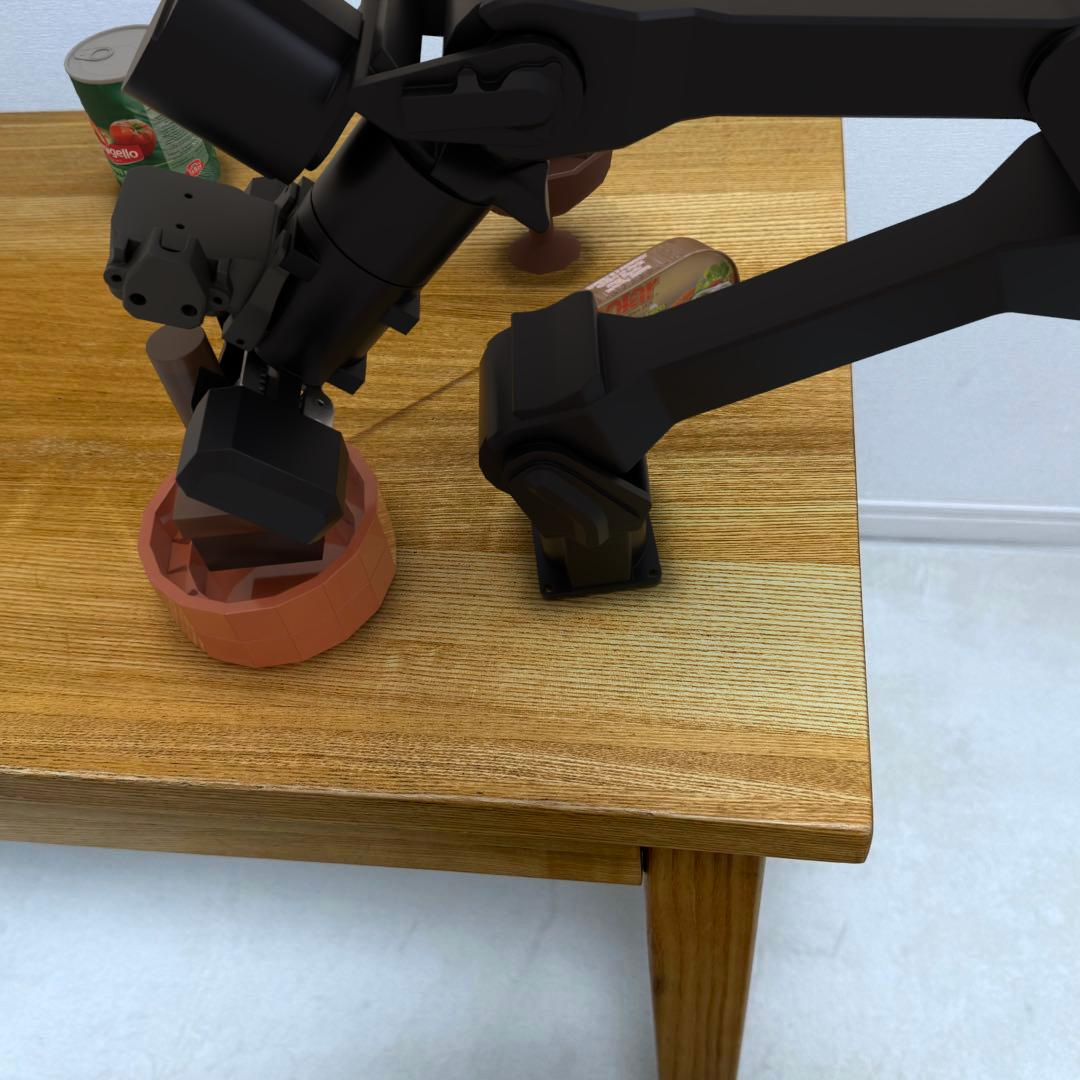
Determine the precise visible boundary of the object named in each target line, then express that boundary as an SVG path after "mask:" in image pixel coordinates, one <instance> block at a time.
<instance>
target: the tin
mask: <svg viewBox="0 0 1080 1080" xmlns="http://www.w3.org/2000/svg"><path fill="white" fill-rule="evenodd" d="M739 282H741V278H740V272H739V269H738V267H737V265H736V263H735V261H734V260H733V259H732V257H730V256H729V255H728V254H727V253H725V252H723V251H721V250H720V249H719V250H718V249H715V248H713V247H712V246H709V245H708V244H706V243H704V242H702V241H700V240H698V239H696V238H692V237H686V236H677V237H671V238H669V239H665V240H662V241H661V242H658V243H657V244H655V245H654V246H651V247H650V248H649V249H647V250H645V251H643V252H641V253H639V254H637V255H636V256H634V257H632V258H631V259H629V260H627V261H625V262H624V263H622V264H619V265H618V266H617V267H615V268H613V269H611V270H610V271H608V272H607V273H605V274H603V275H601V276H599V277H598V278H596V279H594V280H592V281H590V282H589V283H586V285H584V286H581V287H580V288H578V289H576V290H575V291H573V292H571V293H570V294H572V293H574V292H578V291H584V290H590V291H592V292H593V294H594V297H595V301H596V304H597V308H598V311H599V312H604V313H611V314H618V315H625V316H632V317H644V316H649V315H652V314H655V313H658V312H661V311H663V310H666V309H669V308H671V307H674V306H677V305H680V304H682V303H685V302H688V301H690V300H693V299H696V298H698V297H701V296H704V295H706V294H709V293H712V292H714V291H717V290H720V289H722V288H725V287H728V286H730V285H733V284H736V283H739ZM570 294H568V295H570ZM565 297H566V296H564V297H563V298H565Z"/></svg>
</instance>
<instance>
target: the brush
mask: <svg viewBox="0 0 1080 1080" xmlns="http://www.w3.org/2000/svg"><path fill="white" fill-rule="evenodd" d="M145 354H146V355H147V357H148V359H149V361H150V363H151V365H152V367H153V369H154V370H155V372H156V374H157V376H158V378H159V380H160V382H161V384H162V386H163V388H164V390H165V392H166V394H167V396H168V397H169V399H170V401H171V404H172V405H173V407H174V409H175V411H176V413H177V415H178V417H179V418H180V420H181V422H182V424H183V426H184V429H185V430H186V429H187V427H188V424H189V422H190V420H191V418H192V413H191V409H190V404H191V399H192V394H193V390H194V385H195V381H196V376H197V372H198V367H199V365H200V366H203V367H205V368H207V369H209V370H211V371H213V372H215V373H217V374H219V375H222V376H224V377H225V375H224V373H223V370H222V368H221V366H220V364H219V362H218V358H217V355H216V353H215V351H214V348H213V346H212V344H211V342H210V340H209V338H208V335H207V333H206V331H205V329H204V328H203V326H202V325H200V326H198V327H196V328H194V329H183V328H178V327H174V326H169V325H164V324H163V325H162V326H161V327H159V328H157V329H156V330H155V331H154V332H152V333H151V334H150V335H149V337H148V338H147V339H146V343H145ZM173 521H174V523H175V525H176V526H177V528H178V530H179V532H180V533H181V535H182V537H183V538H184V539H191V541H192V543H193V544H194V546H195V548H196V549H197V551H198V553H199V555H200V556H201V558H202V560H203V561H204V563H205V565H206V567H207V568H208V570H209V571H210V572H213V571H223V570H232V569H242V568H251V567H261V566H270V565H280V564H289V563H299V562H309V561H318V560H322V559H323V551H324V541H325V535H324V536H323V537H322V538H321V539H320V540H317V541H315V542H313V543H311V544H308V545H306V544H303V543H301V542H298V541H296V540H293V539H291V538H288V537H286V536H283V535H281V534H278V533H276V532H273V531H271V530H269V529H266V528H264V527H261V526H259V525H256V524H254V523H251V522H249V521H246V520H244V519H241V518H239V517H236V516H234V515H231V514H229V513H227V512H224V511H222V510H219V509H217V508H214V507H212V506H209V505H207V504H204V503H202V502H199V501H197V500H194V499H192V498H190V497H187V496H186V495H185V493H184V492H183V490H182V489H181V487H179V492H178V496H177V501H176V506H175V510H174V515H173Z"/></svg>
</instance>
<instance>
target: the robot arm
mask: <svg viewBox="0 0 1080 1080" xmlns="http://www.w3.org/2000/svg"><path fill="white" fill-rule="evenodd" d="M148 25H149V26H148V28H147V30H146V33H145V35H144V37H143V39H142V41H141V43H140V45H139V47H138V50H137V52H136V54H135V56H134V58H133V60H132V63H131V65H130V67H129V70H128V72H127V74H126V76H125V79H124V81H123V84H122V87H121V91H122V92H124V93H126V94H127V95H129V96H131V97H132V98H134V99H136V100H137V101H139V102H141V103H142V104H144V105H146V106H147V107H149V108H151V109H152V110H154V111H156V112H157V113H159V114H161V115H162V116H164V117H166V118H167V119H169V120H171V121H172V122H174V123H176V124H177V125H179V126H181V127H182V128H184V129H186V130H187V131H189V132H191V133H192V134H194V135H196V136H197V137H199V138H201V139H202V140H204V141H206V142H207V143H209V144H211V145H212V146H213V147H214V148H216V149H217V150H219V151H221V152H222V153H224V154H226V156H229V157H230V158H233V160H235V161H237V162H239V163H241V164H242V165H243V166H246V167H247V168H249V169H251V170H252V171H254V172H256V173H257V174H259V175H260V176H257V177H252V179H251V180H250V181H249V183H248V185H247V186H246V188H245V189H244V190H242V189H241V188H238V187H237V186H234V185H231V184H227V183H224V182H223V183H222V182H219V181H217V182H215V181H211V180H207V179H203V178H199V177H195V176H191V175H187V174H183V173H179V172H175V171H172V170H168V169H164V168H160V167H155V166H137V167H134V168H132V169H130V170H129V171H128V172H127V174H126V176H125V179H124V182H123V184H122V187H120V191H119V194H118V196H117V200H116V202H115V204H114V205H115V206H114V209H113V211H112V213H111V214H112V215H111V218H110V229H109V231H110V232H109V238H110V239H109V254H108V258H107V263H106V265H105V268H104V271H103V275H102V279H103V280H104V283H105V284H106V285H107V286H108V290H109V291H110V293H111V294H112V295H113V296H114V297H115V298H116V299H118V300H120V301H121V303H122V304H121V305H122V307H123V310H124V311H126V312H127V313H128V314H129V315H130V316H131V317H133V318H135V319H137V320H141V321H146V322H151V323H155V324H160V325H163V326H164V325H169V326H174V327H178V328H183V329H194V328H196V327H198V326H202V325H203V324H204V321H205V318H206V317H211V318H216V320H217V322H218V326H219V328H220V330H221V334H220V335H221V337H220V339H221V340H223V344H222V346H221V350H220V353H219V356H218V358H217V359H218V362H219V364H220V366H221V368H222V370H223V373H224V375H225V377H224V376H222V375H219V374H217V373H215V372H213V371H211V370H209V369H207V368H205V367H203V366H200V365H199V367H198V372H197V376H196V381H195V385H194V390H193V394H192V399H191V404H190V409H191V413H192V418H191V420H190V422H189V424H188V427H187V429H186V428H185V432H184V437H183V442H182V445H181V450H180V455H179V459H178V464H177V468H176V469H177V473H176V477H175V480H176V482H177V483H178V485H179V486H180V487H181V489H182V490H183V492H184V493H185V495H186V496H187V497H190V498H192V499H194V500H197V501H199V502H202V503H204V504H207V505H209V506H212V507H214V508H217V509H219V510H222V511H224V512H227V513H229V514H231V515H234V516H236V517H239V518H241V519H244V520H246V521H249V522H251V523H254V524H256V525H259V526H261V527H264V528H266V529H269V530H271V531H273V532H276V533H278V534H281V535H283V536H286V537H288V538H291V539H293V540H296V541H298V542H301V543H303V544H306V545H308V544H311V543H313V542H315V541H317V540H320V539H321V538H322V537H323V536H324V535H325V534H326V533H327V532H328V531H329V530H330V529H331V528H332V527H333V526H334V525H335V524H336V523H337V522H338V521H339V520H340V519H341V518H342V517H343V516H344V508H345V496H346V484H347V472H348V460H349V452H348V450H347V447H346V444H345V442H346V441H345V439H344V436H343V433H342V432H341V431H339V430H337V429H335V428H334V422H335V412H336V408H335V404H334V402H333V400H332V399H331V397H329V396H328V395H327V394H326V393H325V392H324V390H323V386H324V385H325V383H326V384H329V385H331V386H333V387H335V388H336V389H338V390H341V391H343V392H344V393H347V394H349V395H351V396H354V395H355V393H357V392H358V390H359V389H360V388H362V386H363V384H364V383H365V382H366V375H367V364H368V363H367V362H368V353H369V351H370V350H371V349H372V348H373V347H374V345H376V343H377V342H378V341H379V340H380V339H381V337H382V336H383V335H384V334H385V333H386V332H387V331H388V330H389V328H391V329H393V330H395V331H396V332H398V333H400V334H401V335H403V336H407V335H408V334H409V333H410V332H411V331H412V329H413V328H414V327H415V326H416V325H417V324H418V323H419V322H420V320H421V319H420V318H421V291H422V290H423V289H424V288H425V287H426V286H427V284H428V283H429V282H430V281H431V280H432V279H433V278H434V276H435V275H436V274H437V273H438V272H439V271H440V269H442V267H443V266H444V265H445V264H446V263H447V261H448V260H449V259H450V258H451V257H452V256H453V255H454V253H455V252H456V251H457V250H458V249H459V248H460V246H462V244H463V243H465V241H466V239H468V237H469V236H470V235H471V234H472V233H473V232H474V230H475V229H476V228H478V226H479V225H480V224H481V222H483V220H484V219H485V218H486V216H487V215H489V213H490V212H492V211H491V209H492V208H493V207H494V206H495V207H497V208H498V209H500V210H502V211H503V212H505V213H506V214H508V215H509V216H511V217H510V218H512V219H513V220H515V221H517V222H518V223H520V224H521V225H523V226H524V227H526V228H527V229H528V230H529V229H530V230H532V231H533V232H535V233H539V234H541V233H544V232H546V231H547V230H548V229H549V228H550V211H549V198H548V184H547V174H548V170H549V160H551V159H558V158H565V157H571V156H578V155H585V154H591V153H598V152H605V151H611V150H613V151H617V150H618V151H619V150H622V149H623V150H624V149H625V148H628V147H630V146H632V145H634V144H636V143H638V142H640V141H642V140H644V139H646V138H649V137H650V136H652V135H655V134H657V133H659V132H661V131H662V130H665V129H666V128H669V127H670V126H673V125H675V124H678V123H681V122H687V121H694V120H700V119H707V118H714V117H715V118H716V117H725V118H726V117H729V118H730V117H733V118H734V117H735V118H736V117H737V118H740V117H741V118H830V119H831V118H832V119H833V118H834V119H837V118H838V119H839V118H840V119H841V118H843V119H844V118H845V119H933V120H934V119H937V120H938V119H939V120H942V119H946V120H949V119H950V120H951V119H952V120H960V119H961V120H1022V121H1027V122H1031V123H1033V124H1036V125H1037V127H1038V129H1039V131H1038V132H1036V133H1034V134H1032V135H1030V136H1028V137H1027V138H1026V139H1025V140H1024V141H1022V142H1021V143H1020V145H1018V146H1017V147H1016V149H1015V150H1014V151H1012V153H1011V154H1010V155H1008V157H1006V159H1005V160H1004V161H1003V162H1002V163H1001V164H1000V165H999V166H997V168H996V169H995V170H994V171H993V172H992V173H991V174H990V175H989V176H988V177H987V178H986V179H985V180H984V181H983V182H982V183H981V184H980V185H979V186H978V187H977V188H976V189H975V190H974V191H973V192H971V193H970V194H968V195H967V196H964V197H963V198H960V199H958V200H956V201H954V202H950V203H948V204H946V205H942V206H940V207H938V208H935V209H932V210H929V211H927V212H924V213H921V214H919V215H916V216H913V217H910V218H908V219H905V220H902V221H900V222H896V223H894V224H892V225H889V226H887V227H884V228H881V229H878V230H875V231H873V232H870V233H868V234H865V235H862V236H860V237H856V238H854V239H851V240H849V241H845V242H843V243H840V244H838V245H835V246H833V247H830V248H827V249H824V250H822V251H819V252H817V253H814V254H811V255H809V256H806V257H803V258H801V259H798V260H795V261H792V262H790V263H787V264H784V265H782V266H779V267H777V268H774V269H771V270H769V271H766V272H763V273H761V274H757V275H755V276H752V277H749V278H747V279H744V280H742V281H741V280H740V282H739V283H736V284H733V285H730V286H728V287H725V288H722V289H720V290H717V291H714V292H712V293H709V294H706V295H704V296H701V297H698V298H696V299H693V300H690V301H688V302H685V303H682V304H680V305H677V306H674V307H671V308H669V309H666V310H663V311H661V312H658V313H655V314H652V315H649V316H644V317H632V316H625V315H618V314H611V313H604V312H599V311H598V308H597V304H596V301H595V297H594V294H593V292H592V291H590V290H584V291H578V292H575V291H573V292H574V293H573V292H571V293H572V294H571V293H570V295H569V294H568V295H566V296H564V297H565V298H564V297H562V298H561V299H559V300H558V301H555V302H554V303H552V304H550V305H548V306H546V307H542V308H539V309H535V310H530V311H515V312H512V313H511V314H510V326H508V327H506V328H505V329H503V330H501V331H498V332H497V333H495V335H493V336H492V337H491V338H490V339H489V340H488V341H487V343H486V348H485V349H484V351H483V352H482V356H481V358H480V361H479V363H478V467H479V469H480V471H481V473H482V475H483V477H484V479H485V480H486V481H488V482H489V483H490V484H491V485H492V487H494V488H495V489H497V490H498V491H501V492H503V493H505V494H507V495H509V496H510V497H511V498H512V499H513V502H515V504H517V506H518V507H519V508H520V509H521V511H522V512H523V513H524V515H525V516H526V518H528V520H529V522H530V524H531V525H530V526H531V532H532V540H533V549H534V556H535V564H536V572H537V580H538V588H539V595H540V597H541V598H542V599H543V600H545V601H554V600H561V599H568V598H569V599H570V598H576V597H583V596H589V595H590V596H591V595H597V594H604V593H610V592H618V591H619V592H620V591H626V590H632V589H639V588H646V587H647V588H648V587H652V586H653V587H654V586H657V585H659V584H660V583H662V581H663V570H662V566H661V562H660V561H661V560H660V556H659V552H658V547H657V542H656V538H655V534H654V529H653V524H652V520H651V515H650V512H651V510H652V508H653V500H652V499H653V498H652V491H651V484H650V475H649V466H648V460H647V453H648V452H649V451H650V450H651V449H652V448H653V447H654V446H655V445H656V444H657V443H658V442H659V441H660V440H661V439H662V438H663V437H664V436H665V435H666V434H667V433H668V432H669V431H670V430H671V428H673V427H674V426H676V425H677V424H678V423H681V422H683V421H685V420H687V419H690V418H693V417H696V416H699V415H702V414H705V413H708V412H711V411H714V410H717V409H720V408H723V407H726V406H729V405H732V404H735V403H737V402H740V401H744V400H746V399H750V398H753V397H756V396H758V395H762V394H764V393H768V392H770V391H774V390H777V389H779V388H783V387H785V386H788V385H792V384H794V383H797V382H800V381H803V380H806V379H810V378H812V377H816V376H818V375H822V374H825V373H826V372H830V371H833V370H835V369H838V368H842V367H845V366H848V365H851V364H854V363H857V362H859V361H863V360H866V359H868V358H872V357H874V356H877V355H880V354H883V353H887V352H889V351H892V350H895V349H898V348H901V347H904V346H908V345H911V344H912V343H916V342H919V341H922V340H924V339H928V338H930V337H931V338H932V337H934V336H936V335H940V334H942V333H946V332H949V331H952V330H954V329H958V328H961V327H964V326H967V325H969V324H972V323H976V322H979V321H981V320H984V319H988V318H990V317H994V316H997V315H1001V314H1002V315H1003V314H1011V313H1012V314H1021V315H1028V316H1037V317H1045V318H1053V319H1054V318H1055V319H1062V320H1070V321H1079V322H1080V0H360V4H359V6H358V7H357V8H356V7H354V5H352V4H351V3H349V2H348V1H346V0H160V1H159V4H158V5H157V7H156V10H155V12H154V14H153V16H152V18H151V20H150V22H149V24H148ZM423 37H437V38H442V48H441V49H442V50H441V52H442V53H441V56H439V57H435V58H432V59H429V60H424V61H421V60H422V59H421V58H422V50H423V49H422V48H423ZM355 114H358V115H360V116H361V117H360V118H359V120H358V121H357V123H355V125H354V127H353V128H352V130H351V131H350V132H349V134H348V135H347V136H346V138H345V140H344V141H343V142H342V144H341V145H340V146H339V148H338V149H337V150H336V151H335V153H334V155H333V156H332V157H331V159H330V160H329V162H328V163H327V165H326V166H325V168H324V169H323V171H322V172H321V173H320V175H319V176H318V177H317V179H316V180H315V181H313V180H312V179H310V178H308V177H306V176H305V175H302V176H301V178H300V179H299V181H298V182H297V183H296V182H295V180H297V179H298V177H299V176H300V175H301V174H302V173H303V172H304V170H307V171H308V172H313V171H315V170H317V169H318V168H319V167H320V166H321V165H322V164H323V162H324V161H325V160H326V159H327V157H328V156H329V155H330V154H331V152H332V150H333V149H334V147H335V146H336V144H337V142H338V141H339V139H340V138H341V136H342V134H343V132H344V131H345V129H346V127H347V125H348V124H349V122H350V121H351V119H352V118H353V117H354V115H355ZM650 575H655V576H653V577H652V576H650ZM549 589H550V590H551V591H547V590H549Z"/></svg>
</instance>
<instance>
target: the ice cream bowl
mask: <svg viewBox="0 0 1080 1080" xmlns="http://www.w3.org/2000/svg"><path fill="white" fill-rule="evenodd" d="M613 153H614V150H611V151H605V152H598V153H591V154H585V155H578V156H571V157H565V158H558V159H551V160H549V170H548V174H547V184H548V198H549V211H550V228H549V229H548V230H547V231H546V232H544V233H541V234H539V233H535V232H533V231H532V230H530V229H529V228H528V231H526V232H524V233H523V234H522V235H519V236H518V237H517V238H516V239H515V240H514V241H512V242H511V243H509V247H508V252H507V258H506V259H507V260H508V261H509V262H510V263H511V264H512V265H513V267H514V268H515V269H516V270H517V271H518V272H519V271H520V272H523V273H528V274H533V275H540V276H542V275H546V274H552V273H555V272H560V271H564V270H565V269H566V268H568V267H569V266H570V265H572V264H573V263H574V262H576V261H577V260H578V259H579V258H580V252H581V244H582V243H581V241H579V240H578V239H577V238H576V236H574V235H573V234H572V233H571V232H570V231H569V230H562V229H558V228H555V224H554V223H555V222H554V218H555V217H559V216H562V215H565V214H568V213H569V212H570V211H571V210H573V208H575V207H576V206H577V205H579V204H580V203H582V202H583V201H584V200H585V199H587V198H588V197H589V196H590V195H592V193H594V192H595V191H596V190H597V189H598V188H599V187H600V186H601V185H602V184H603V183H605V180H606V178H607V175H608V173H609V172H610V169H611V164H612V159H613ZM490 212H492V213H495V215H498V216H501V217H507V218H512V217H511V216H509V215H508V214H506V213H505V212H503V211H502V210H500V209H498V208H497V207H495V206H494V207H493V208H492V209H491V211H490Z"/></svg>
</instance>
